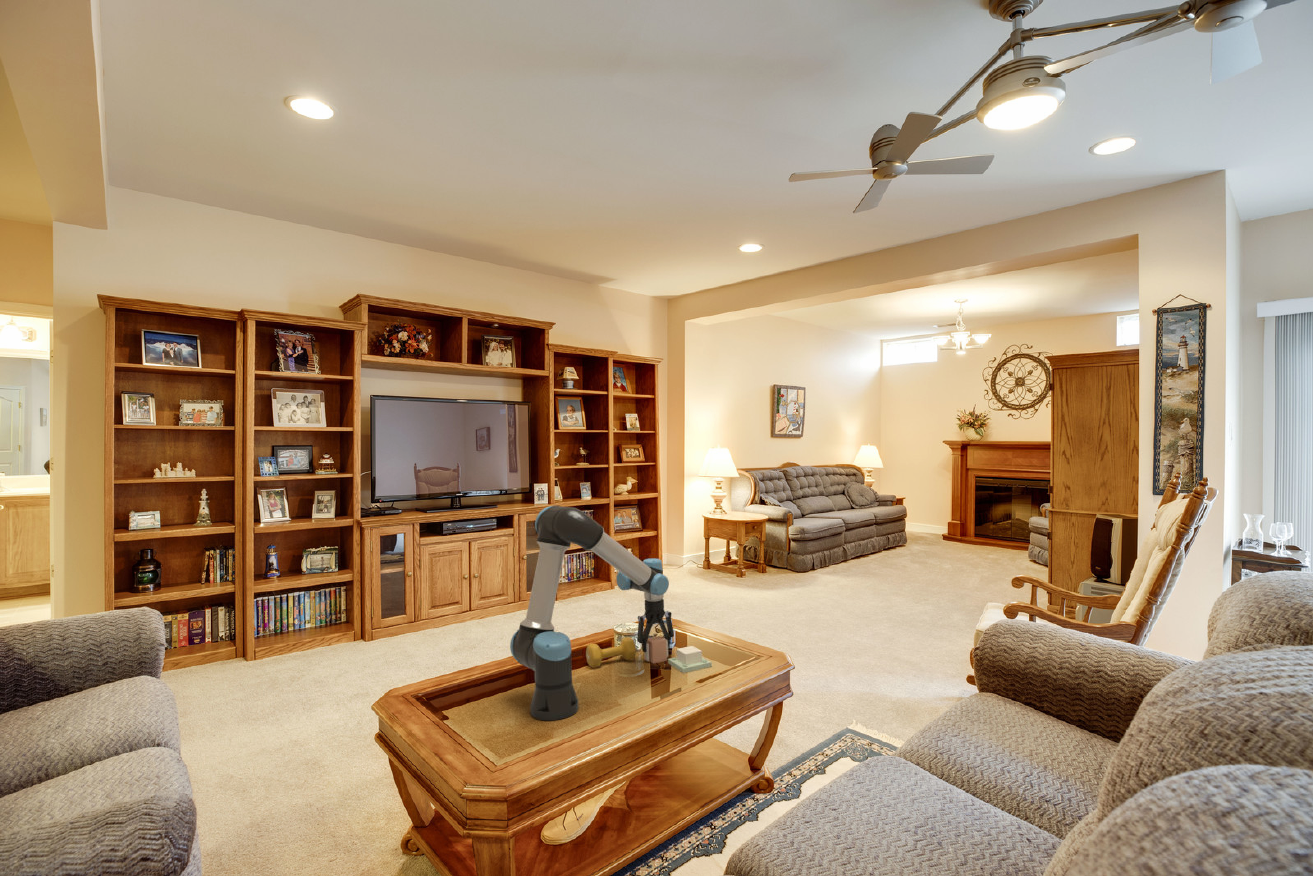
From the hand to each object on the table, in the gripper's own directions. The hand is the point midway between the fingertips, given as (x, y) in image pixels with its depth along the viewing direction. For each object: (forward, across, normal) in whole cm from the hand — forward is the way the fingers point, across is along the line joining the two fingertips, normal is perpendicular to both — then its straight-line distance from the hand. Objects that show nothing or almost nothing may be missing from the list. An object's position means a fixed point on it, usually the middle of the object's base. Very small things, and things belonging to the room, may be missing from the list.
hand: (656, 658), depth 235 cm
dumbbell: (+1, -16, +7) cm, 17 cm away
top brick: (+1, 0, 0) cm, 1 cm away
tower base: (+1, +8, -12) cm, 14 cm away
